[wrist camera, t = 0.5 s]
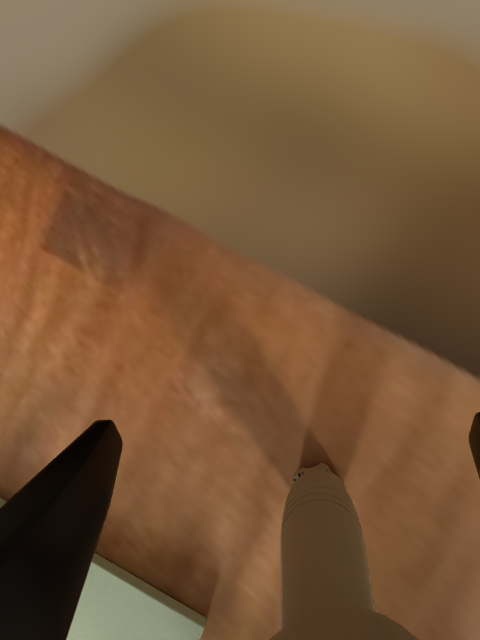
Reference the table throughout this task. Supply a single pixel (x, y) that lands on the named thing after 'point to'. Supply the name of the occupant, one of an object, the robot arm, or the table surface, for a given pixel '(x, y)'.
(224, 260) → the table surface
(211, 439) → the table surface
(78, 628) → the mat
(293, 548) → the handle
